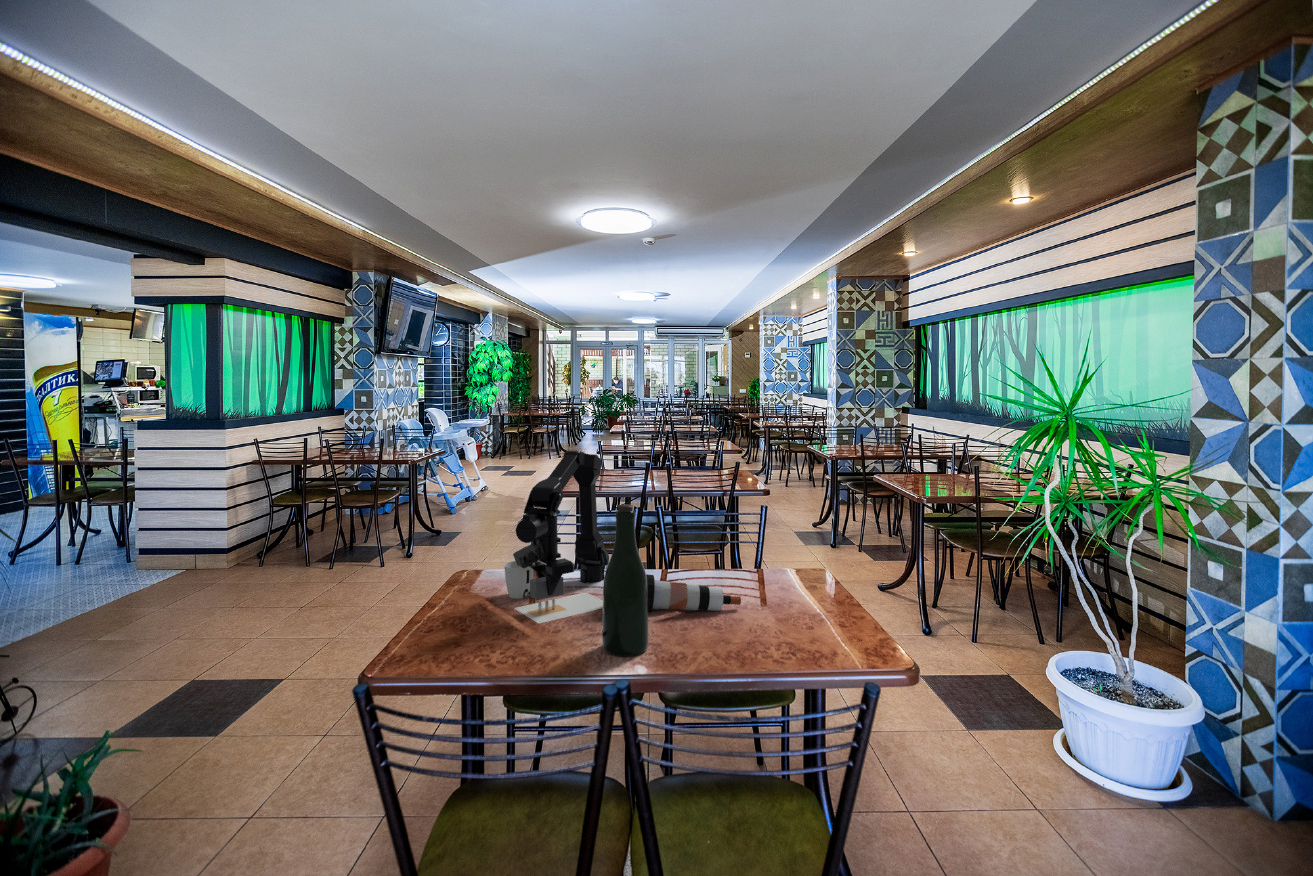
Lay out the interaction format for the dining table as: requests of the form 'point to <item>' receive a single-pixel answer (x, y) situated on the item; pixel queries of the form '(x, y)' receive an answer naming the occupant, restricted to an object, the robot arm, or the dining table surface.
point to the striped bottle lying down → (686, 596)
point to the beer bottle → (625, 592)
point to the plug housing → (544, 588)
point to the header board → (561, 607)
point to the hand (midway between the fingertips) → (546, 593)
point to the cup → (518, 580)
